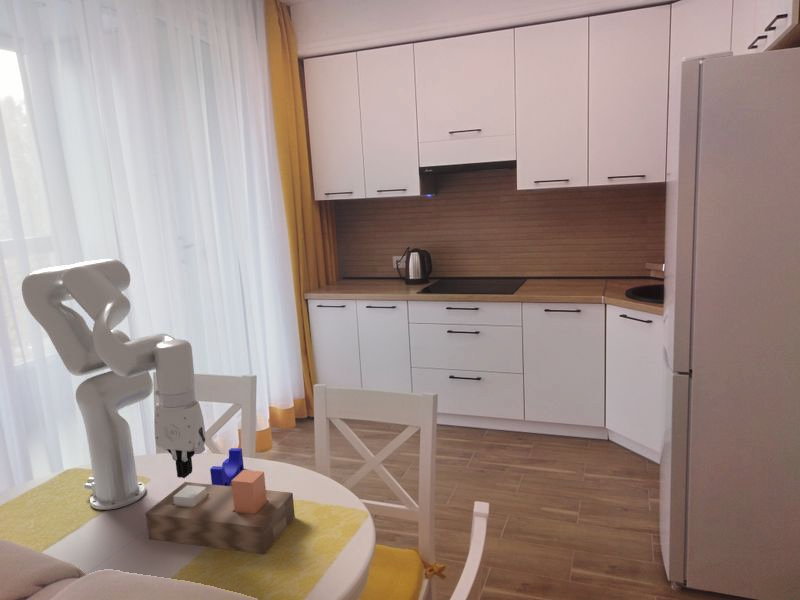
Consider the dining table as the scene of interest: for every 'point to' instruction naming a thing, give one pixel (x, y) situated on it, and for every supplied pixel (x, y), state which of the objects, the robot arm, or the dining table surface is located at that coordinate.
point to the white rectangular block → (190, 496)
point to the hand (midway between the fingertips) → (184, 474)
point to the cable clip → (228, 468)
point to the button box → (221, 520)
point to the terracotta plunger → (249, 492)
